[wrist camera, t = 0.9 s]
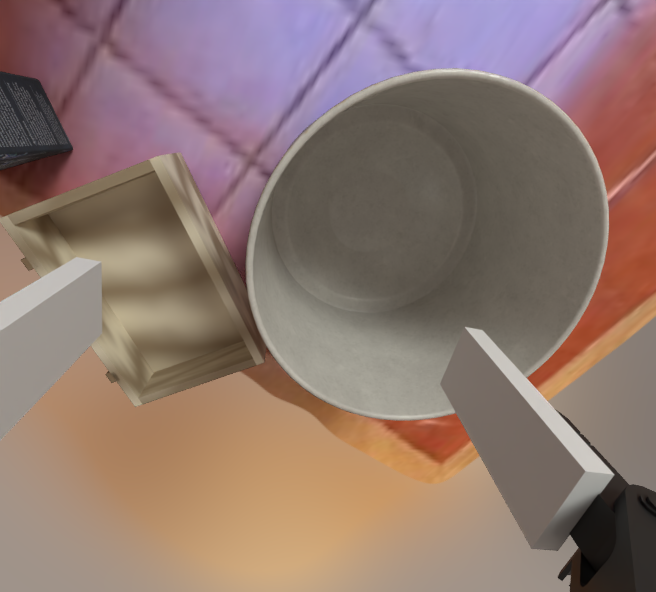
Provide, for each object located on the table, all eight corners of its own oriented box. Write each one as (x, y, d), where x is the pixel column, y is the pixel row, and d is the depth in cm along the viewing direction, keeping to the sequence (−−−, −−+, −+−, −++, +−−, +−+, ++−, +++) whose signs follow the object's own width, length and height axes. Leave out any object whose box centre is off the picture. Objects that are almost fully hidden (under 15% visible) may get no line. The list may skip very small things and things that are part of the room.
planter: (503, 157, 35) (689, 179, 18) (407, 325, 41) (481, 453, 25) (316, 60, 31) (339, -27, 14) (242, 263, 37) (198, 368, 20)
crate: (37, 208, 34) (-8, 221, 28) (180, 152, 33) (158, 155, 28) (150, 375, 41) (130, 408, 36) (268, 334, 40) (264, 362, 35)
